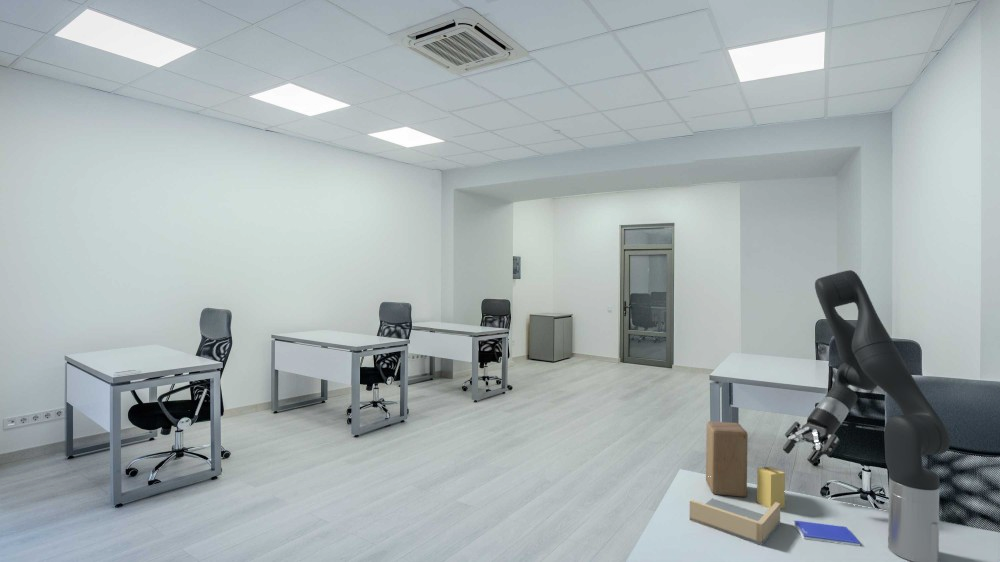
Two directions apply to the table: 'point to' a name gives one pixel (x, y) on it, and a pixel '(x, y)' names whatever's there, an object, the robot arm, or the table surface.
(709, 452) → the wooden block
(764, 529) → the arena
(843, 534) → the hard drive
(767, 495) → the mustard block
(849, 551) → the table surface
